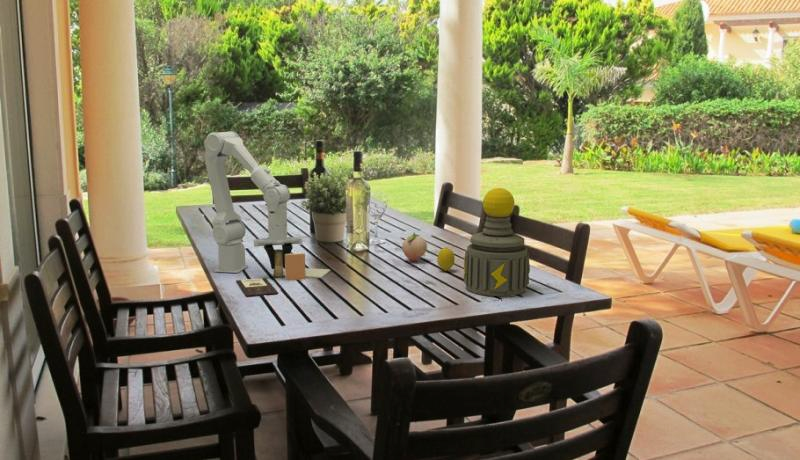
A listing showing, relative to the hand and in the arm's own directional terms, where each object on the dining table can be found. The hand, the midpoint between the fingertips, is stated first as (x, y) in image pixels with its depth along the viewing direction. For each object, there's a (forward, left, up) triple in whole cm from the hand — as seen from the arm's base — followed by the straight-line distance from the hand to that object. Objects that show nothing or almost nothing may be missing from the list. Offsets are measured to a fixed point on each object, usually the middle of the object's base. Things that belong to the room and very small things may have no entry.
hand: (278, 267), depth 228 cm
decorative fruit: (-30, +38, -3) cm, 48 cm away
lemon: (-18, +50, -3) cm, 53 cm away
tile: (+2, +6, -3) cm, 7 cm away
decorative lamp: (+1, +67, -3) cm, 67 cm away
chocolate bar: (+14, -2, -3) cm, 15 cm away
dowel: (0, 0, -2) cm, 2 cm away
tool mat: (-6, +9, -3) cm, 11 cm away
